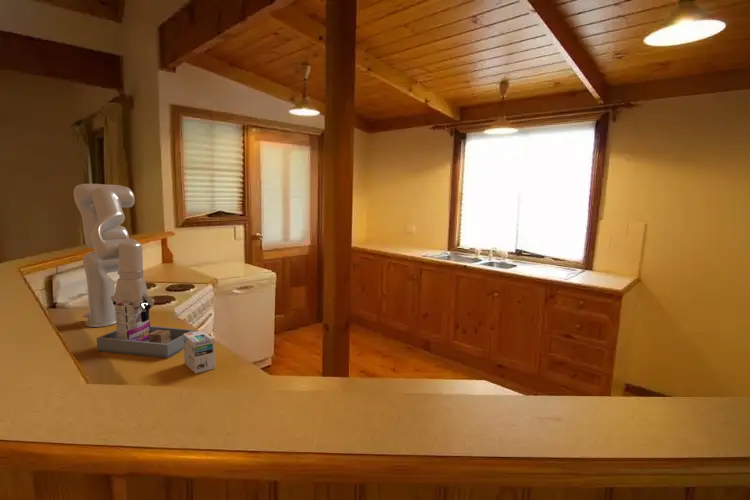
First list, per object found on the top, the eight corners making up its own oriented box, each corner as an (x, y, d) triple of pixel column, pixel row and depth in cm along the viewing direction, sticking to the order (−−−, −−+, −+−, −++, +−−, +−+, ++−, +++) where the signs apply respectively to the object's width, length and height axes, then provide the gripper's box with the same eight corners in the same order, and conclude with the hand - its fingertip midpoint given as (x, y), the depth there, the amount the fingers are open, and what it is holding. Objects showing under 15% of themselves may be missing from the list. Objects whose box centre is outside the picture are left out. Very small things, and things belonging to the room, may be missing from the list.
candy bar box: (140, 336, 153) (138, 296, 151) (151, 338, 152) (149, 297, 150) (116, 347, 142) (114, 303, 140) (128, 348, 141) (126, 304, 139)
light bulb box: (215, 368, 130) (215, 337, 129) (195, 374, 126) (194, 342, 124) (203, 358, 138) (202, 329, 136) (183, 363, 133) (182, 333, 132)
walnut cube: (149, 347, 144) (148, 334, 143) (158, 342, 148) (158, 329, 148) (161, 348, 143) (160, 335, 142) (170, 343, 148) (170, 330, 147)
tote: (97, 351, 141) (96, 338, 140) (131, 336, 156) (130, 324, 156) (167, 358, 137) (167, 344, 136) (195, 342, 152) (195, 329, 152)
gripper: (102, 275, 141) (104, 320, 144) (145, 279, 139) (147, 325, 141) (118, 271, 149) (120, 314, 151) (159, 275, 146) (161, 318, 149)
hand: (133, 319), depth 146 cm, fingers open, 9 cm apart
